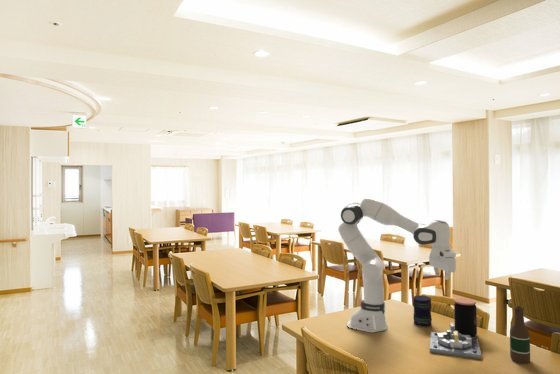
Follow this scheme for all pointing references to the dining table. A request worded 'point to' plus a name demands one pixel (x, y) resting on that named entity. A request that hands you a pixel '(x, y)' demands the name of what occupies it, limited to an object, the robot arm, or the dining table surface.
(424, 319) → the storage jar
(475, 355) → the flange plate
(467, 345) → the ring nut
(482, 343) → the dining table surface
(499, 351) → the dining table surface
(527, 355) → the beer bottle
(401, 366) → the dining table surface
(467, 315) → the coffee jar
